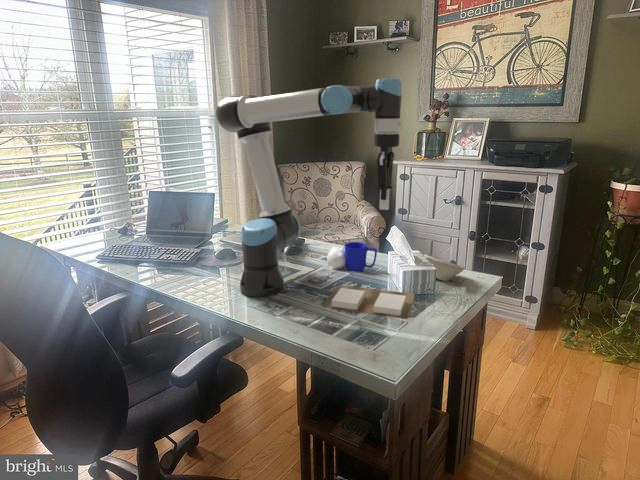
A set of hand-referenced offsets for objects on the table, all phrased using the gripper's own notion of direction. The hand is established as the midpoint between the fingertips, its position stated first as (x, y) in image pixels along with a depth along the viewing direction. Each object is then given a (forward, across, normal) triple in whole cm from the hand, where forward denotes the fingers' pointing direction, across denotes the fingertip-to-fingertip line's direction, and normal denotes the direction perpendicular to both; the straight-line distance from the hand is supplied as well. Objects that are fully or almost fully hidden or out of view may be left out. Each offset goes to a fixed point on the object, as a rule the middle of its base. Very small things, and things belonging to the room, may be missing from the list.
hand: (384, 209), depth 142 cm
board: (+28, -11, +1) cm, 30 cm away
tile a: (+26, -9, +7) cm, 28 cm away
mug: (+29, +16, +12) cm, 35 cm away
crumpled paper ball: (+29, +17, +21) cm, 39 cm away
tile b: (+26, -9, -6) cm, 28 cm away
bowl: (+28, +17, -18) cm, 38 cm away
